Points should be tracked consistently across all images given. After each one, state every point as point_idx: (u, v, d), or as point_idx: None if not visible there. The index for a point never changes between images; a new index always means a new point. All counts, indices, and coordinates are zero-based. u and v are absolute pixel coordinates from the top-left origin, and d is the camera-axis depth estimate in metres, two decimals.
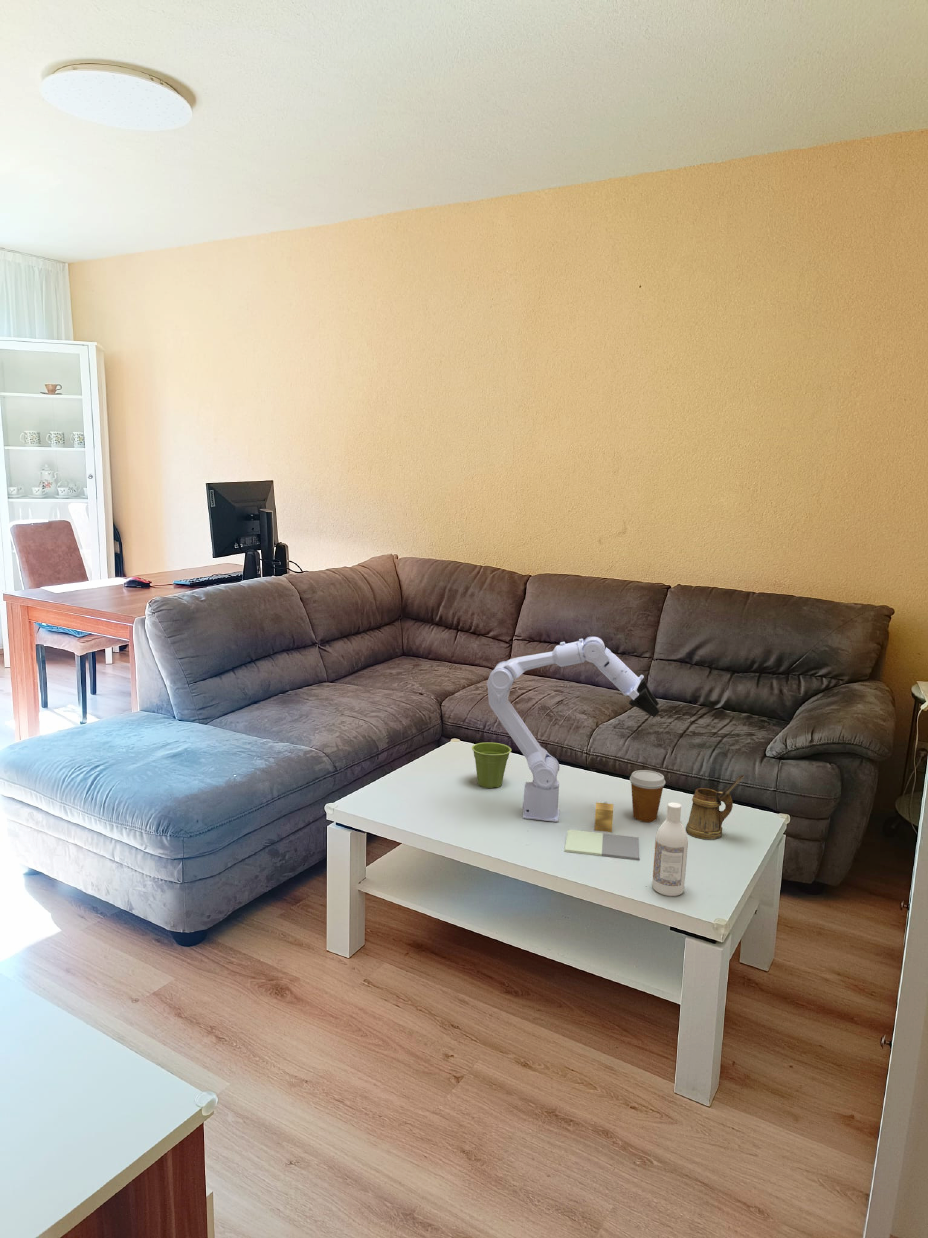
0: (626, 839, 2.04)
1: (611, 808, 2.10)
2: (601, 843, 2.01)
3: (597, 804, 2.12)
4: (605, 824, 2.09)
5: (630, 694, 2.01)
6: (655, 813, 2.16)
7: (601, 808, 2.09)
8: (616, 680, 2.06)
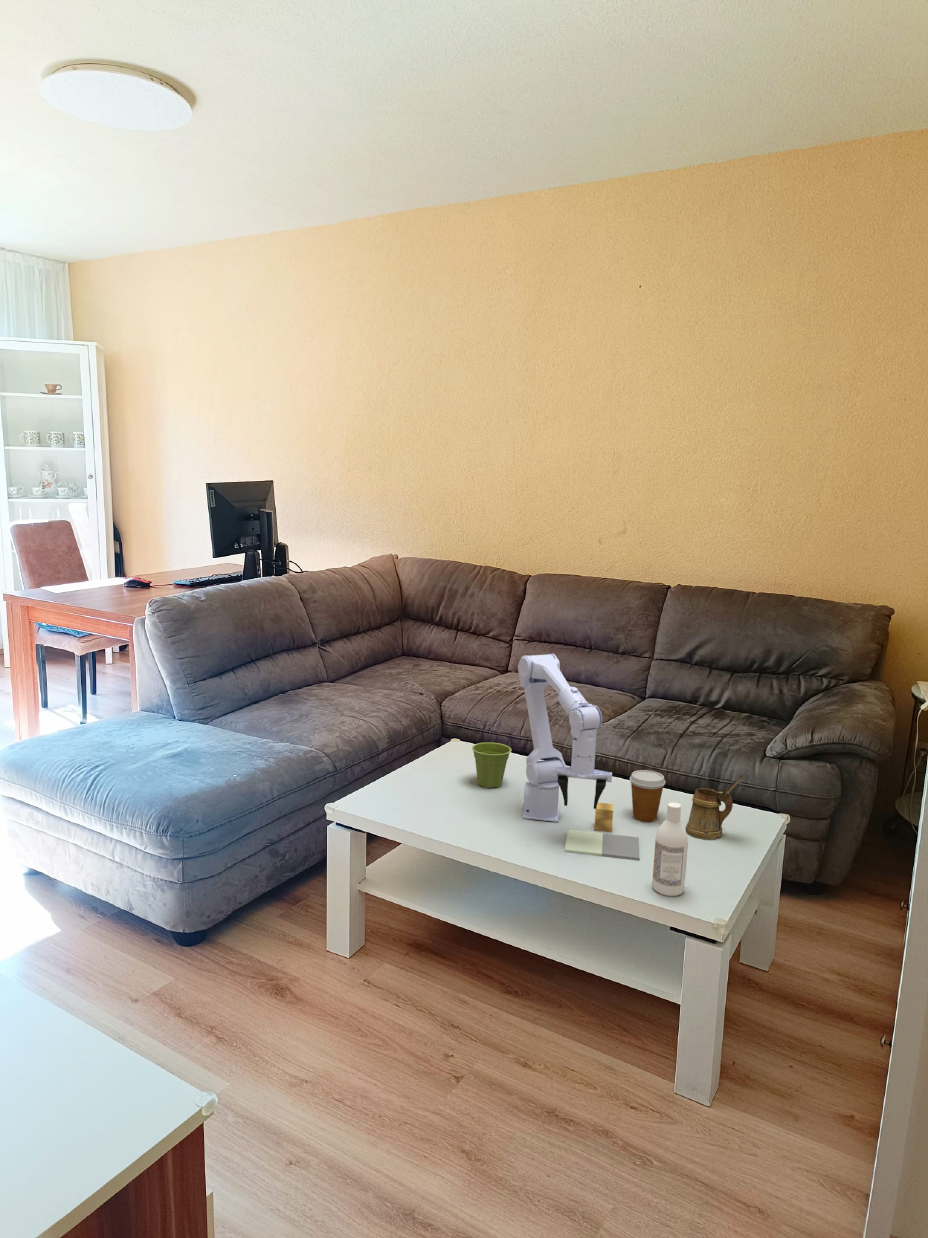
0: (626, 839, 2.04)
1: (611, 808, 2.10)
2: (601, 843, 2.01)
3: (597, 804, 2.12)
4: (605, 824, 2.09)
5: None
6: (655, 813, 2.16)
7: (601, 808, 2.09)
8: None
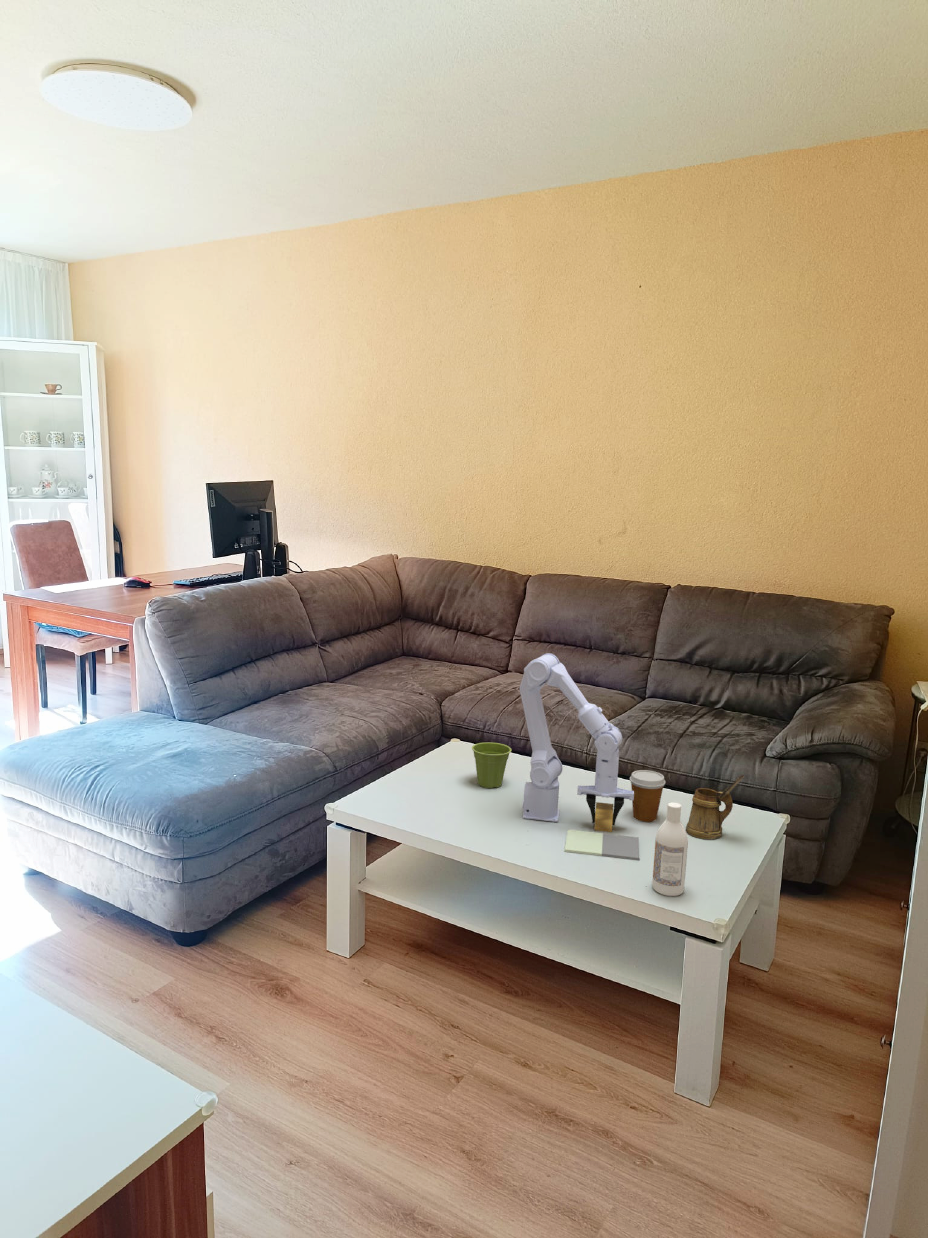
0: (626, 839, 2.04)
1: (611, 808, 2.10)
2: (601, 843, 2.01)
3: (597, 804, 2.12)
4: (605, 824, 2.09)
5: None
6: (655, 813, 2.16)
7: (601, 808, 2.09)
8: None
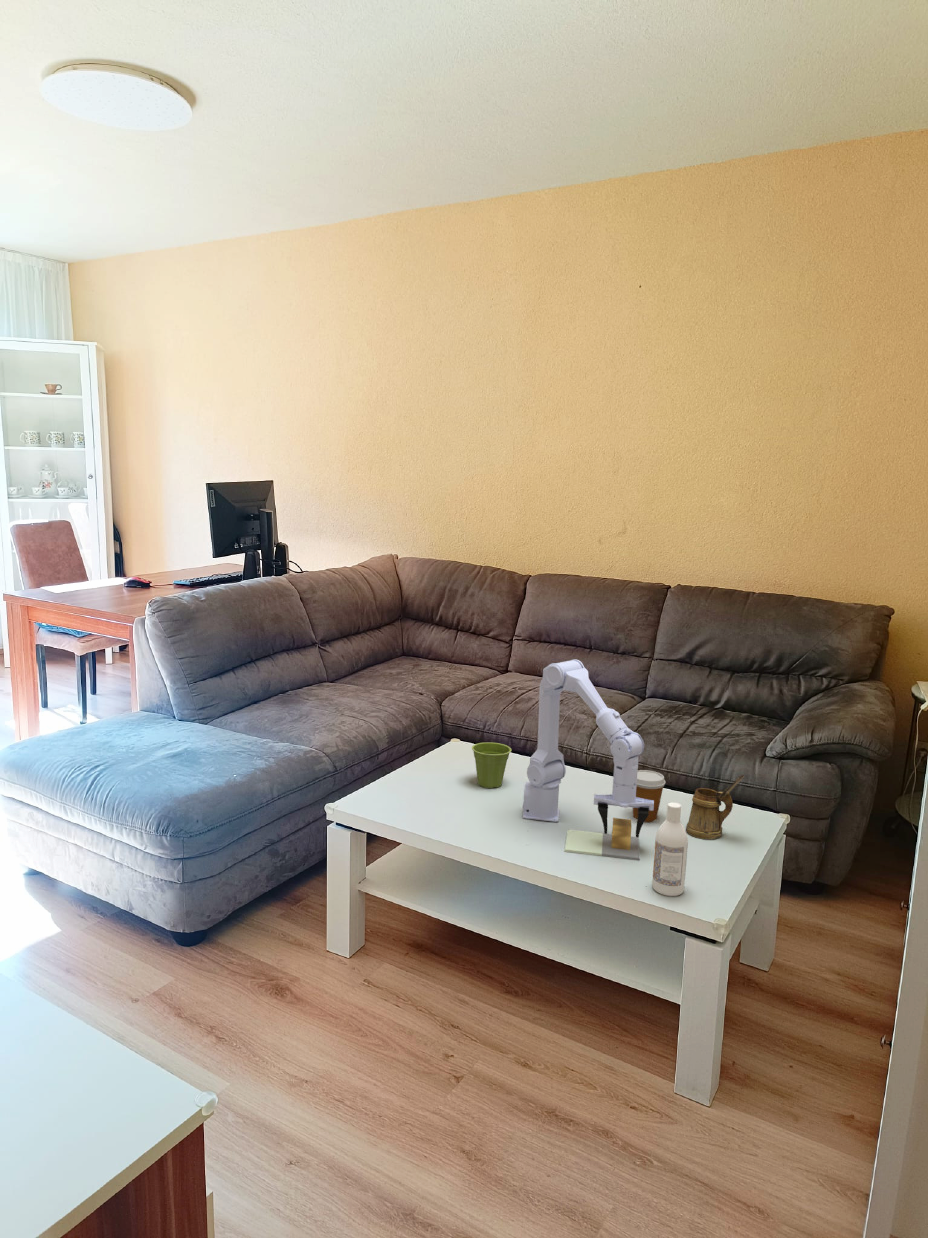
0: None
1: (629, 824, 1.98)
2: (601, 843, 2.01)
3: (614, 820, 2.00)
4: (623, 841, 1.98)
5: (594, 796, 2.00)
6: (655, 813, 2.16)
7: (619, 824, 1.98)
8: None
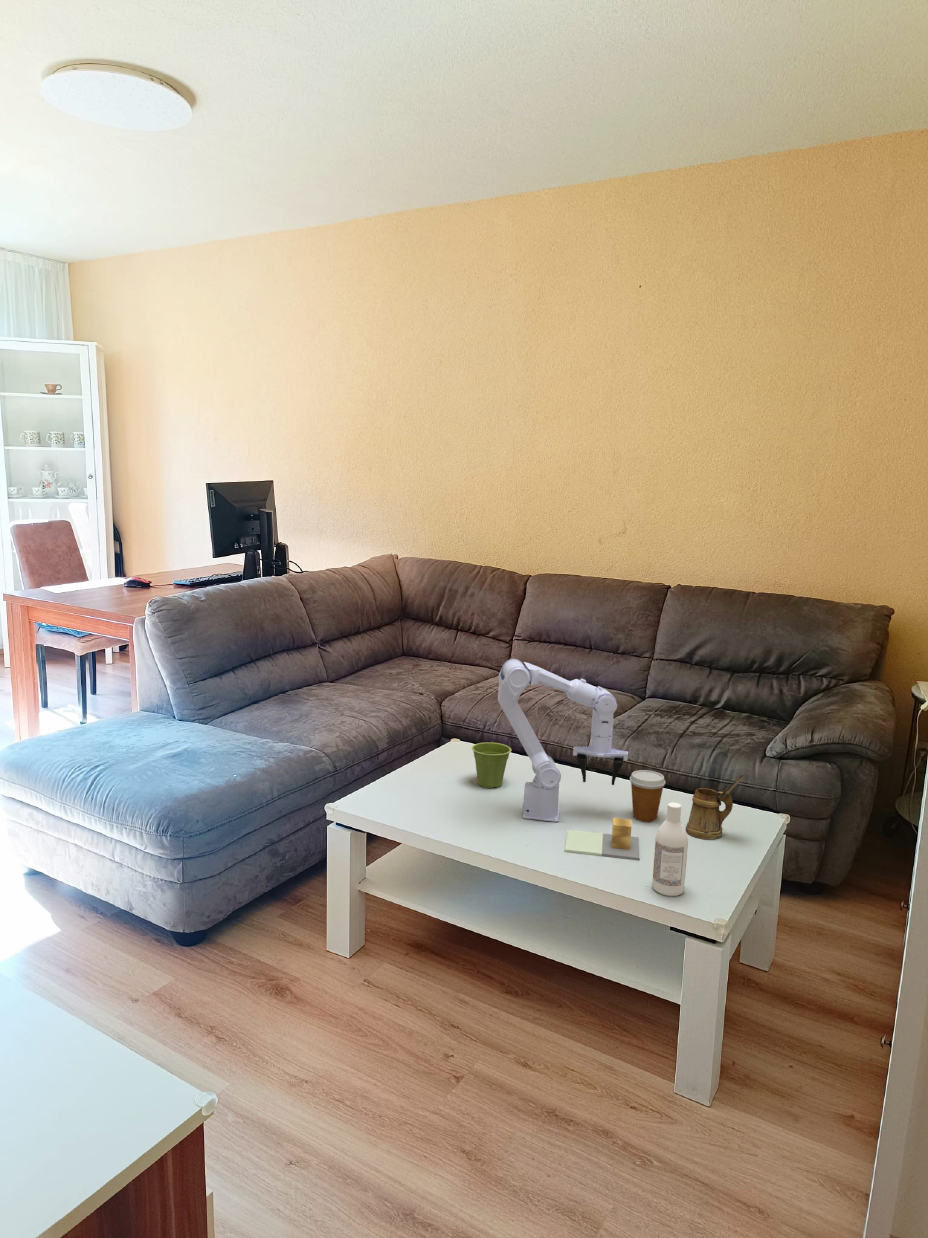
0: None
1: (629, 824, 1.98)
2: (601, 843, 2.01)
3: (614, 820, 2.00)
4: (623, 841, 1.98)
5: (573, 748, 2.19)
6: (655, 813, 2.16)
7: (619, 824, 1.98)
8: None
